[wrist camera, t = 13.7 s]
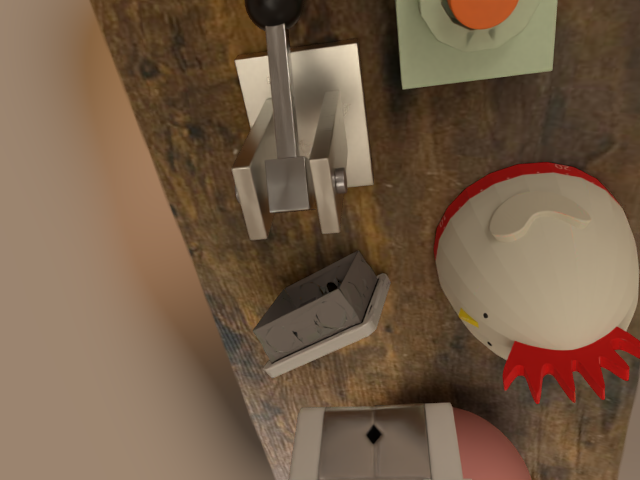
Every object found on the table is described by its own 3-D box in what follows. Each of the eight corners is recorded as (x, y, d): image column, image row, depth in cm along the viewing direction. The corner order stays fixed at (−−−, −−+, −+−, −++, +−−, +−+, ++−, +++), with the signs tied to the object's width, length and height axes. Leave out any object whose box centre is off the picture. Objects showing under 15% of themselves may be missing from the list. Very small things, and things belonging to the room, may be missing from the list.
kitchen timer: (420, 183, 40) (441, 319, 28) (622, 143, 37) (748, 274, 25) (448, 323, 47) (474, 482, 35) (619, 299, 44) (715, 462, 32)
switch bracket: (237, 55, 36) (186, 119, 26) (358, 38, 35) (351, 98, 25) (268, 188, 41) (235, 283, 31) (373, 177, 40) (373, 273, 30)
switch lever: (251, -13, 31) (234, -38, 28) (306, -21, 31) (294, -48, 28) (272, 213, 32) (257, 213, 28) (326, 208, 31) (317, 208, 28)
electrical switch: (301, 321, 48) (280, 396, 40) (267, 278, 47) (238, 347, 39) (392, 277, 45) (390, 350, 37) (359, 229, 43) (348, 294, 35)
